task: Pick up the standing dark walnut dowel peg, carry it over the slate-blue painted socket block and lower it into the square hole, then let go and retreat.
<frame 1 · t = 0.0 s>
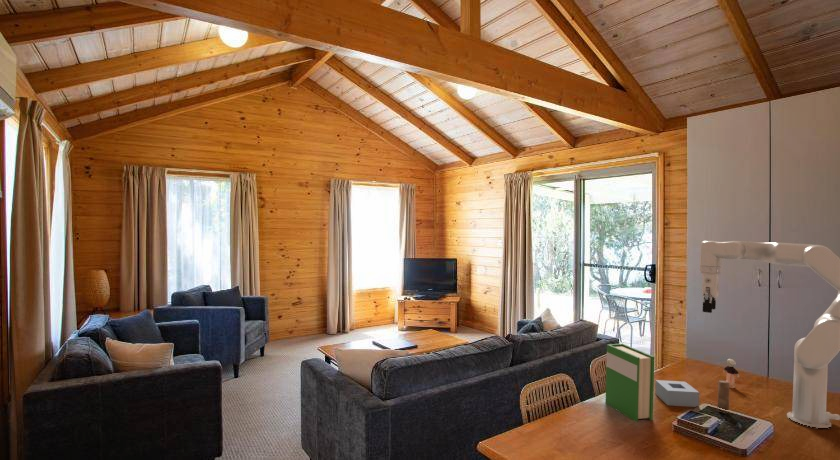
hand: (709, 310, 188), 37 cm above the table, tool pointing down, fingers open, 9 cm apart
peg: (723, 412, 175), on the table
hardback book: (628, 411, 175), on the table
grandmother figurine: (730, 387, 203), on the table
socket block: (676, 400, 186), on the table
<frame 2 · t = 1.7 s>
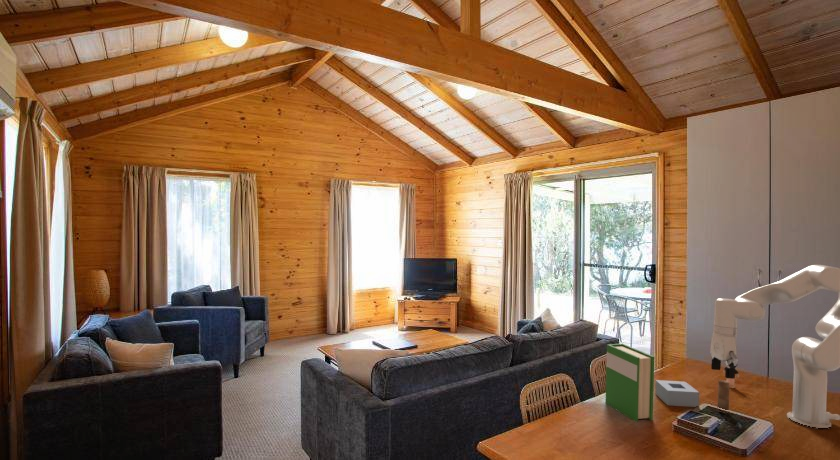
hand: (722, 373, 175), 15 cm above the table, tool pointing down, fingers open, 9 cm apart
nothing on the table moved.
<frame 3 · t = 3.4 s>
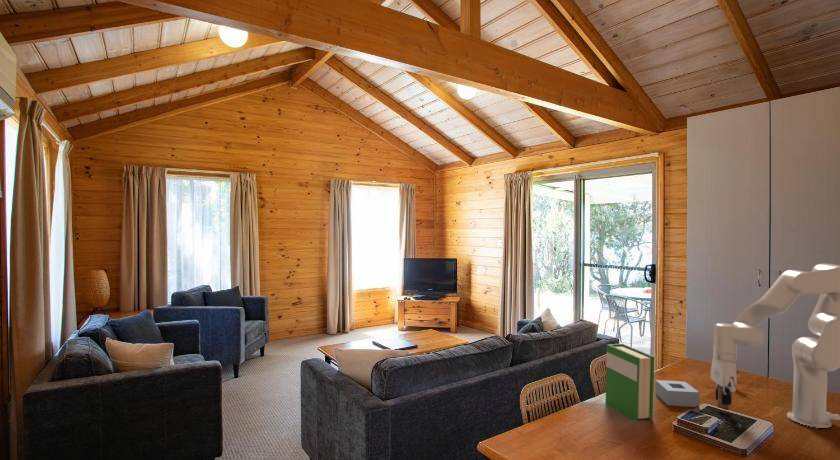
hand: (723, 401, 175), 4 cm above the table, tool pointing down, fingers closed on peg, 3 cm apart
peg: (722, 412, 175), on the table, touching gripper
everything else where it was.
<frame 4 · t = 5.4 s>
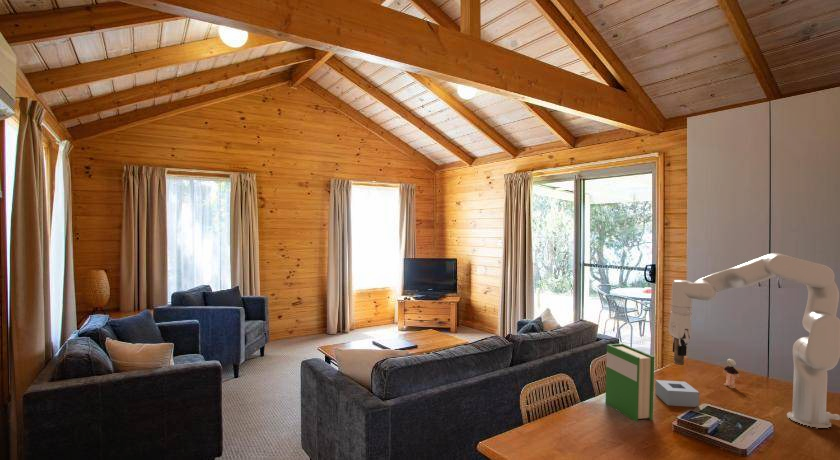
hand: (679, 353, 185), 20 cm above the table, tool pointing down, fingers closed on peg, 3 cm apart
peg: (678, 363, 185), point 16 cm above the table, touching gripper
everything else where it was.
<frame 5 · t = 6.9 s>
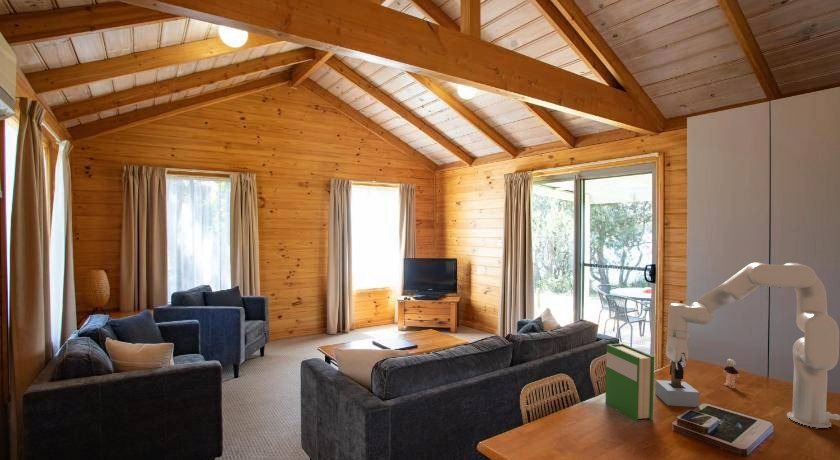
hand: (676, 376, 186), 10 cm above the table, tool pointing down, fingers closed on peg, 3 cm apart
peg: (675, 386, 186), point 6 cm above the table, touching gripper
everything else where it was.
when the fingers open (7 cm above the table, at t = 7.7 s): peg drops 3 cm, resting in socket block.
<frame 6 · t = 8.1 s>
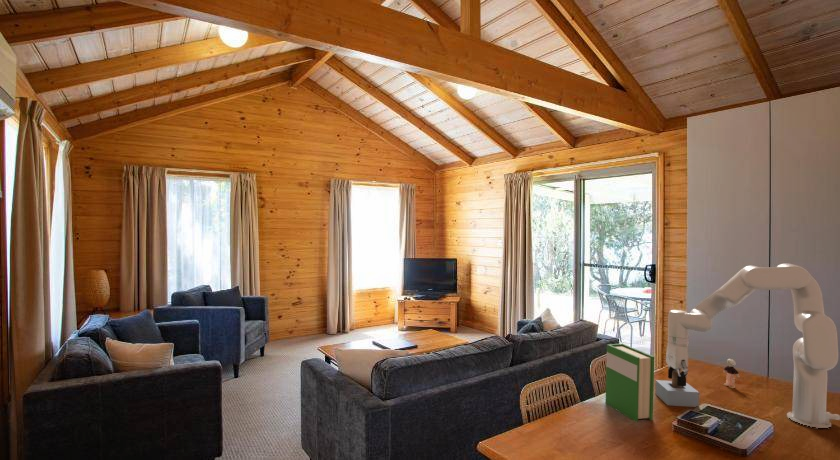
hand: (676, 381, 186), 8 cm above the table, tool pointing down, fingers open, 7 cm apart
peg: (676, 400, 186), resting in socket block
everything else where it was.
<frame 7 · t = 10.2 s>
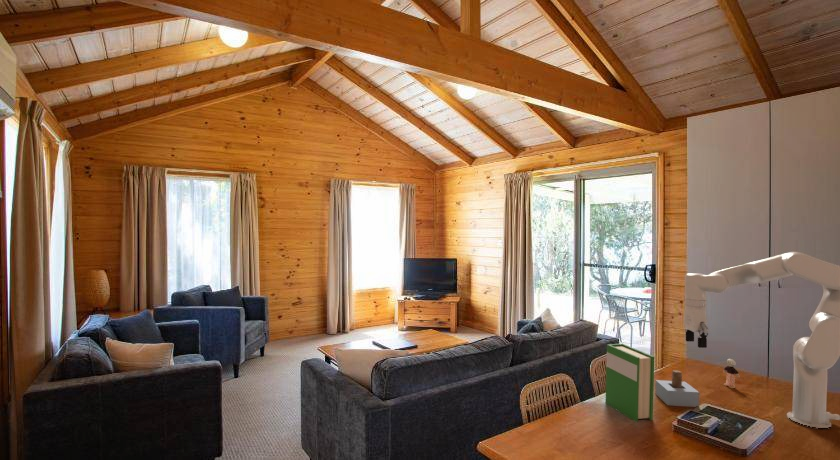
hand: (695, 344, 185), 24 cm above the table, tool pointing down, fingers open, 9 cm apart
nothing on the table moved.
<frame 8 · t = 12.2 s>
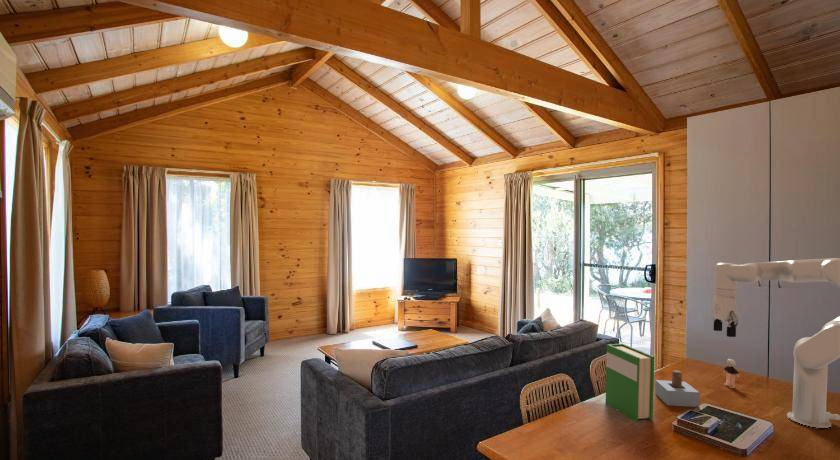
hand: (724, 333, 186), 28 cm above the table, tool pointing down, fingers open, 9 cm apart
nothing on the table moved.
at the end: peg 0.0 cm off-centre on the socket block, point 0.0 cm above the socket block's base; peg tilted 0°; the gripper is holding nothing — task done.
